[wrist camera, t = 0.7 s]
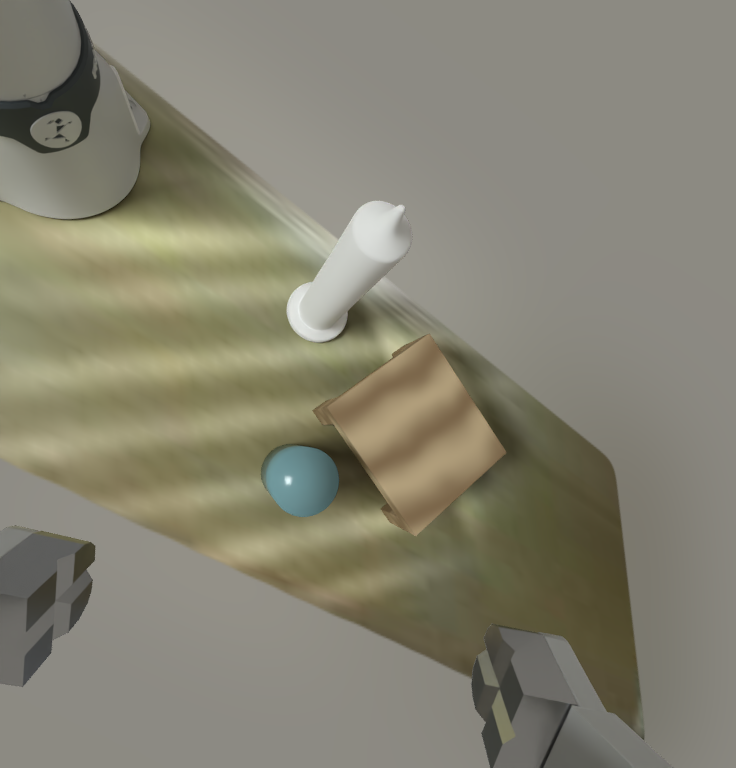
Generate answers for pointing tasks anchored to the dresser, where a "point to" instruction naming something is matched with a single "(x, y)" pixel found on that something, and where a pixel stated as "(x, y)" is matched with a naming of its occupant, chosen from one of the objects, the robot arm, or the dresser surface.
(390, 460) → the small wooden stool
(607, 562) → the dresser surface
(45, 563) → the robot arm
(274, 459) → the teal domed cylinder
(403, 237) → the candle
